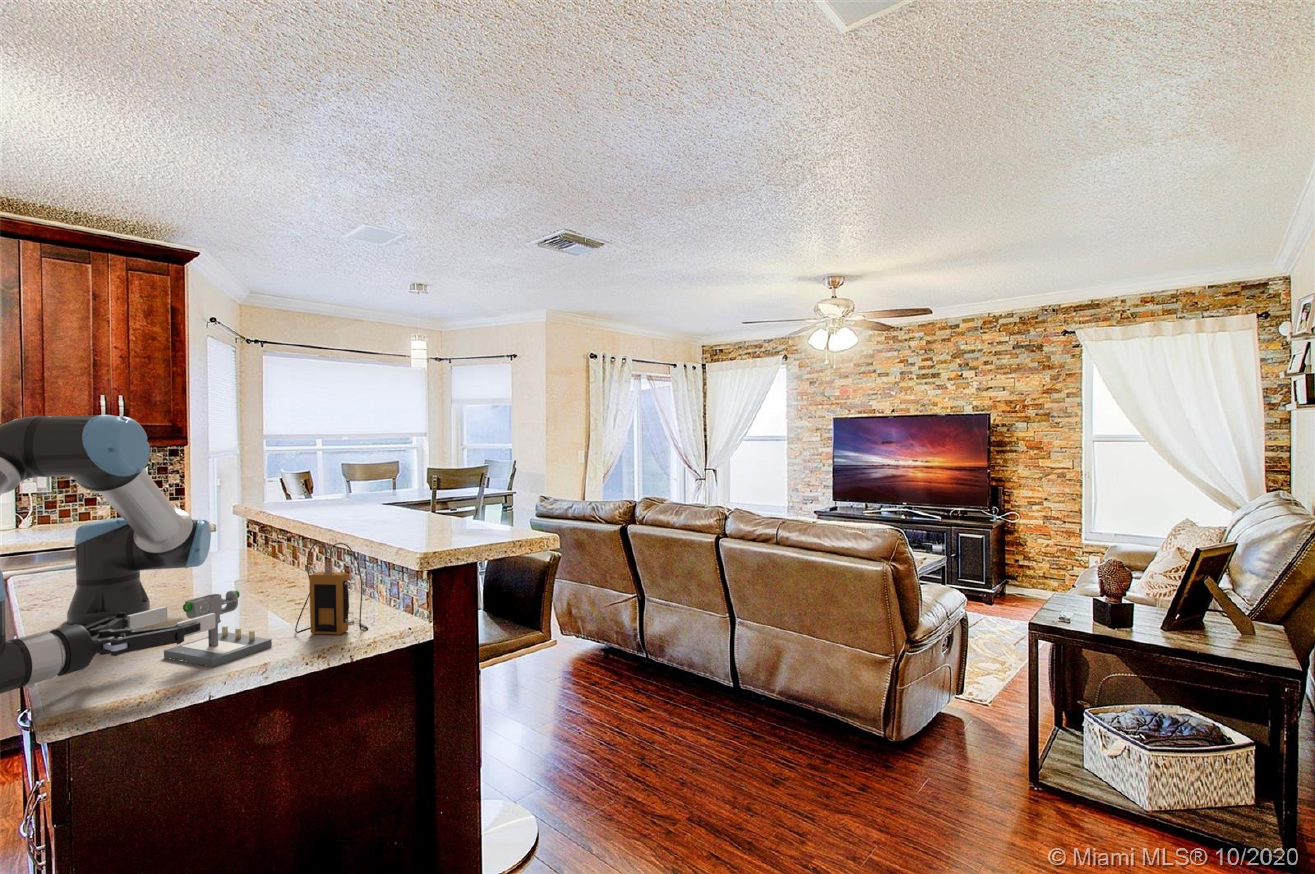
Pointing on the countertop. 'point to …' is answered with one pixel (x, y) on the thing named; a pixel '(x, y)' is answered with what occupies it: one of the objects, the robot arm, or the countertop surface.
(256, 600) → the countertop surface
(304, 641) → the countertop surface
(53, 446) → the robot arm
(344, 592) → the multimeter
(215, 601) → the mechanical component
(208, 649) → the board
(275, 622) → the countertop surface
